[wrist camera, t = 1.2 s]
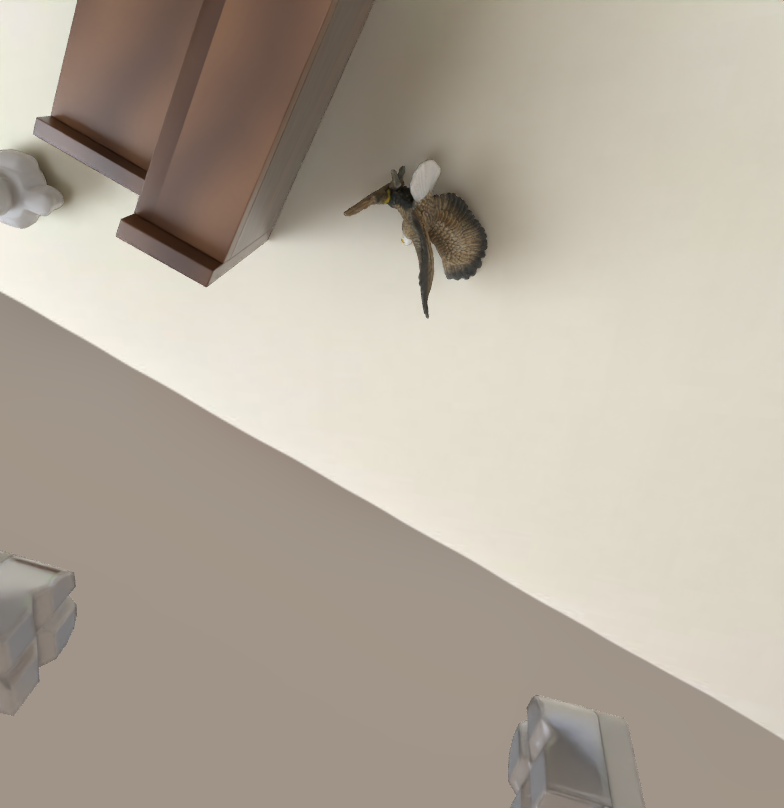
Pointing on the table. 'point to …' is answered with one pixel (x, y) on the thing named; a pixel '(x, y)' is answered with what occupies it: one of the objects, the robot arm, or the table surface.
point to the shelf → (200, 113)
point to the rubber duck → (24, 190)
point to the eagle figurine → (432, 225)
